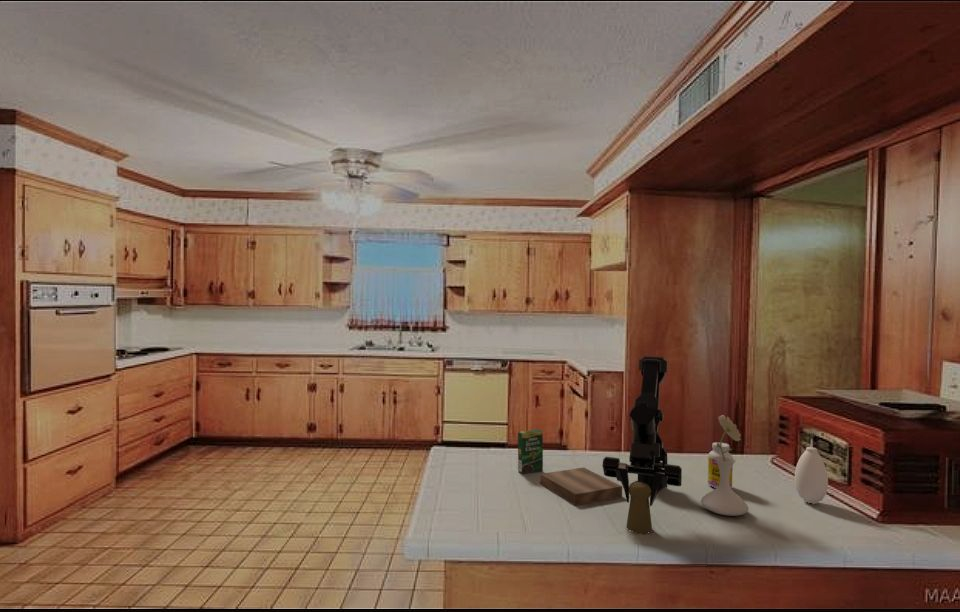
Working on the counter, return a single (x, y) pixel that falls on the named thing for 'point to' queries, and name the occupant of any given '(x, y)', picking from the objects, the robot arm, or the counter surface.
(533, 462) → the coffee box
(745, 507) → the flower in vase
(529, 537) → the counter surface
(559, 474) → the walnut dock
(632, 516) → the cork
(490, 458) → the counter surface
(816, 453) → the sauce bottle
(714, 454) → the supplement bottle
